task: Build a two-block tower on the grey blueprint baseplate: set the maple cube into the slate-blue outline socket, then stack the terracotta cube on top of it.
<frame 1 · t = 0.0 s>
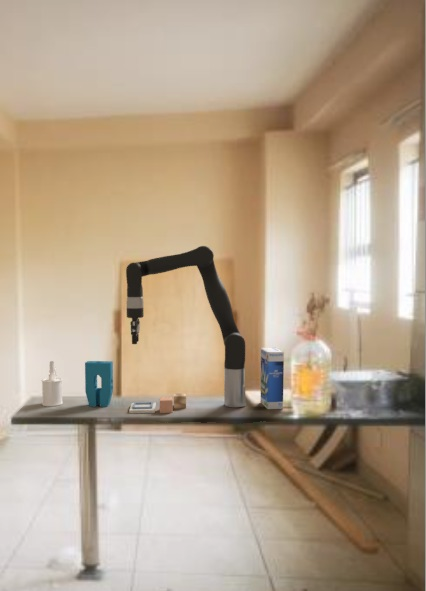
hand: (135, 342, 235), 29 cm above the table, fingers open, 8 cm apart
blueprint baseplate: (143, 409, 233), on the table
block: (99, 405, 240), on the table
terracotta block: (166, 411, 230), on the table
maple block: (180, 406, 237), on the table
white nozzle bottle: (52, 404, 241), on the table
string lights box: (271, 406, 238), on the table
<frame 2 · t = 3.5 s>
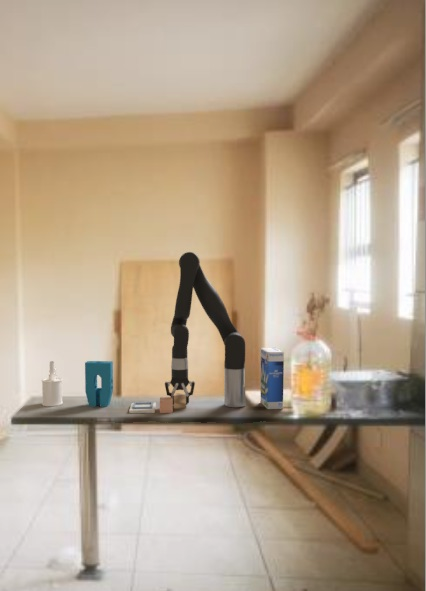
hand: (179, 404, 237), 1 cm above the table, fingers closed on maple block, 5 cm apart
maple block: (179, 406, 237), on the table, touching gripper
everything else where it was.
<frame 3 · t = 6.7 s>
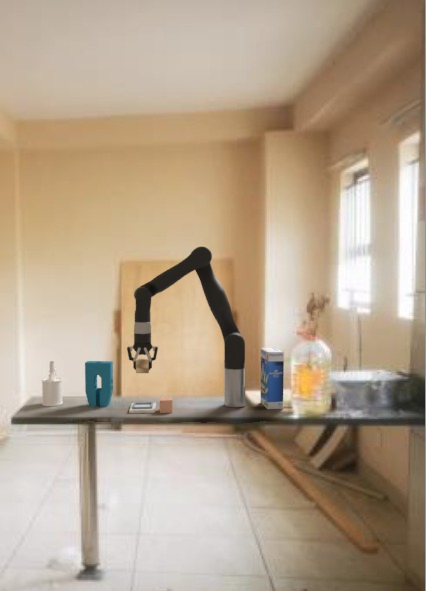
hand: (142, 369, 232), 18 cm above the table, fingers closed on maple block, 5 cm apart
maple block: (142, 372, 232), point 17 cm above the table, touching gripper
everything else where it was.
when the fingers open (3 cm above the table, at t = 9.9 s): maple block stays where it is, resting on blueprint baseplate.
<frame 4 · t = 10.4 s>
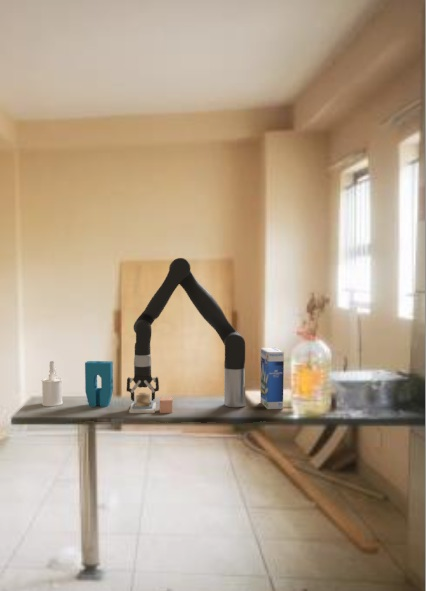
hand: (142, 400, 233), 4 cm above the table, fingers open, 8 cm apart
maple block: (143, 406, 233), point 1 cm above the table, touching blueprint baseplate
everything else where it was.
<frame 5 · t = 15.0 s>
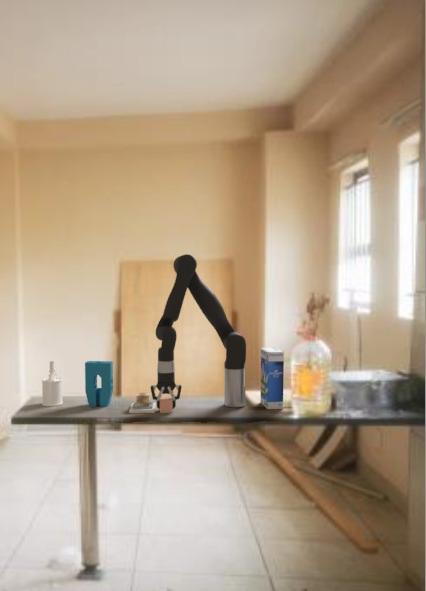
hand: (166, 408, 230), 1 cm above the table, fingers closed on terracotta block, 5 cm apart
terracotta block: (166, 411, 230), on the table, touching gripper
everything else where it was.
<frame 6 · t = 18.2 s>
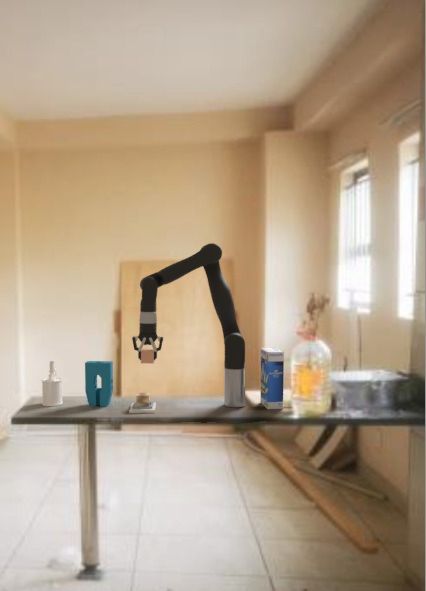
hand: (147, 359, 231), 22 cm above the table, fingers closed on terracotta block, 5 cm apart
terracotta block: (147, 362, 231), point 21 cm above the table, touching gripper
everything else where it was.
when the fingers open (9 cm above the table, at t = 21.3 s): terracotta block drops 1 cm, resting on maple block.
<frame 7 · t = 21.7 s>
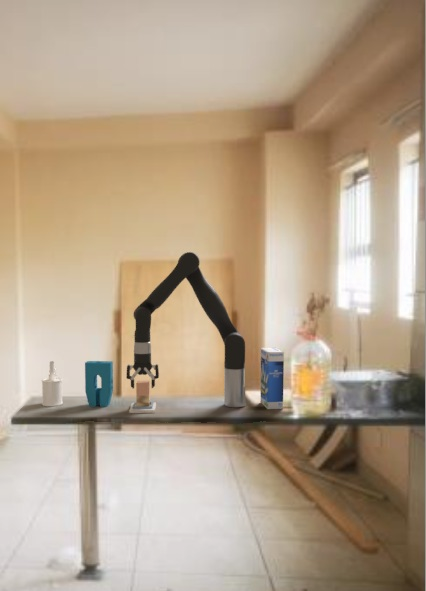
hand: (142, 387, 232), 9 cm above the table, fingers open, 8 cm apart
terracotta block: (143, 394, 233), point 7 cm above the table, touching maple block
maple block: (143, 406, 233), point 1 cm above the table, touching blueprint baseplate, terracotta block
everything else where it was.
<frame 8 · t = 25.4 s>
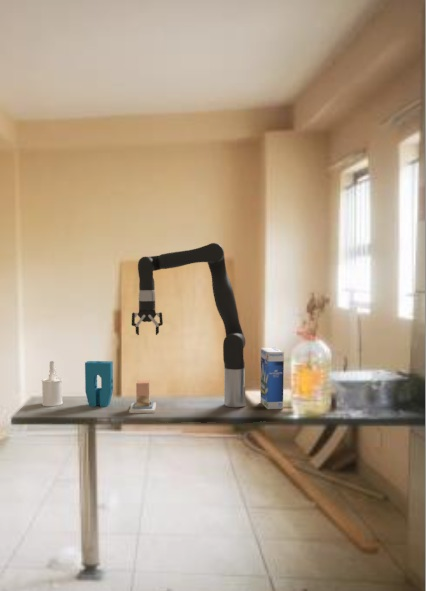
hand: (147, 334, 241), 32 cm above the table, fingers open, 8 cm apart
nothing on the table moved.
at the end: maple block 0.1 cm off-centre on the blueprint baseplate, point 1.2 cm above the blueprint baseplate's base; terracotta block 0.1 cm off-centre on the maple block, point 5.5 cm above the maple block's base; terracotta block tilted 0° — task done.
